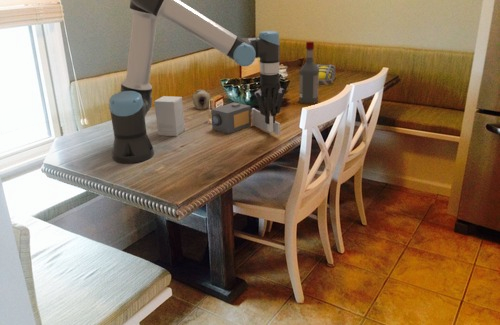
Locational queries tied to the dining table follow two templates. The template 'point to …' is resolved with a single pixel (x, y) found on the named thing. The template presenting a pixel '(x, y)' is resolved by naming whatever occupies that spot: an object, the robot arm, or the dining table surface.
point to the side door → (263, 122)
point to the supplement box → (169, 115)
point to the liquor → (309, 78)
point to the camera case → (231, 117)
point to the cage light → (326, 74)
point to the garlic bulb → (201, 99)
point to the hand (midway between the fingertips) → (270, 130)
